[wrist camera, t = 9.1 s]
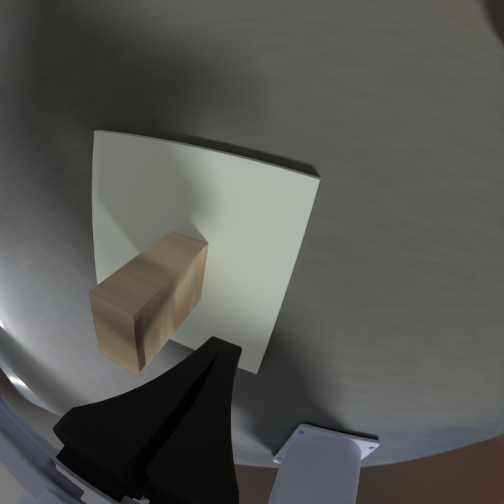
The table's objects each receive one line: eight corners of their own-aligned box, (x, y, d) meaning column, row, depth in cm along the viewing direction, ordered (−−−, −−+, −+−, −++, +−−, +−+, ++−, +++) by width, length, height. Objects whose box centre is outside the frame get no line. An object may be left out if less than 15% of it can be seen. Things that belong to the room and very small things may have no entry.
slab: (201, 299, 18) (140, 376, 12) (167, 285, 19) (100, 353, 13) (209, 243, 16) (134, 316, 10) (171, 230, 17) (87, 291, 11)
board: (259, 368, 20) (256, 374, 20) (104, 300, 23) (100, 303, 22) (320, 177, 14) (319, 179, 13) (100, 129, 16) (94, 130, 15)
